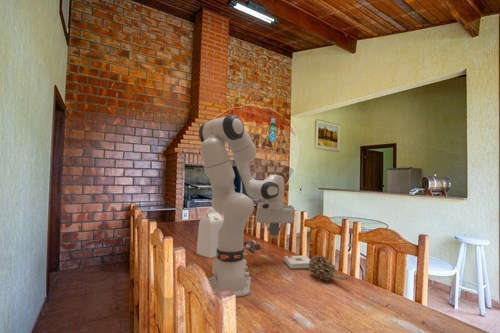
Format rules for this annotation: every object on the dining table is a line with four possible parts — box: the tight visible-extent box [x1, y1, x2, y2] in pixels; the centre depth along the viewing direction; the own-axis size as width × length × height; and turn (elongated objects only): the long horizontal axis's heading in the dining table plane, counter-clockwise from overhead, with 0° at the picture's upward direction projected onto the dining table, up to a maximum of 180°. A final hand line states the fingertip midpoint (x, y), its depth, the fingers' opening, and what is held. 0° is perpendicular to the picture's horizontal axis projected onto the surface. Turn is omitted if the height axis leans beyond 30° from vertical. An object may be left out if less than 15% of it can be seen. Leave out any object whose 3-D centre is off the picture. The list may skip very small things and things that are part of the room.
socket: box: [283, 255, 311, 271], centre depth 141 cm, size 12×12×4 cm
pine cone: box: [308, 254, 349, 282], centre depth 121 cm, size 22×10×10 cm, turn 36°
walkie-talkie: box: [243, 239, 261, 253], centre depth 170 cm, size 9×4×20 cm
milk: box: [195, 207, 224, 259], centre depth 158 cm, size 12×12×26 cm
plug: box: [269, 223, 280, 239], centre depth 144 cm, size 6×5×8 cm
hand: (274, 230), depth 144 cm, fingers closed on plug, 5 cm apart
